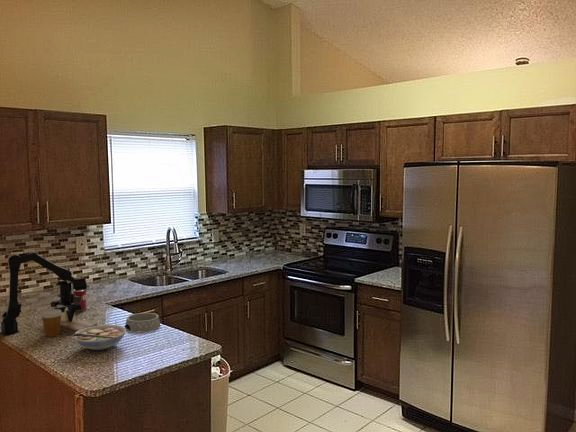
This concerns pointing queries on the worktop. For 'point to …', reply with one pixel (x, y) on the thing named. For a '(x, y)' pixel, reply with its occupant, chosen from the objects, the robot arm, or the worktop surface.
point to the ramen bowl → (99, 336)
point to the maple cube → (66, 319)
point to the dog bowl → (143, 321)
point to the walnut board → (77, 326)
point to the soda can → (83, 301)
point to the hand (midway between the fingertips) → (66, 321)
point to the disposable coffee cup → (51, 322)
